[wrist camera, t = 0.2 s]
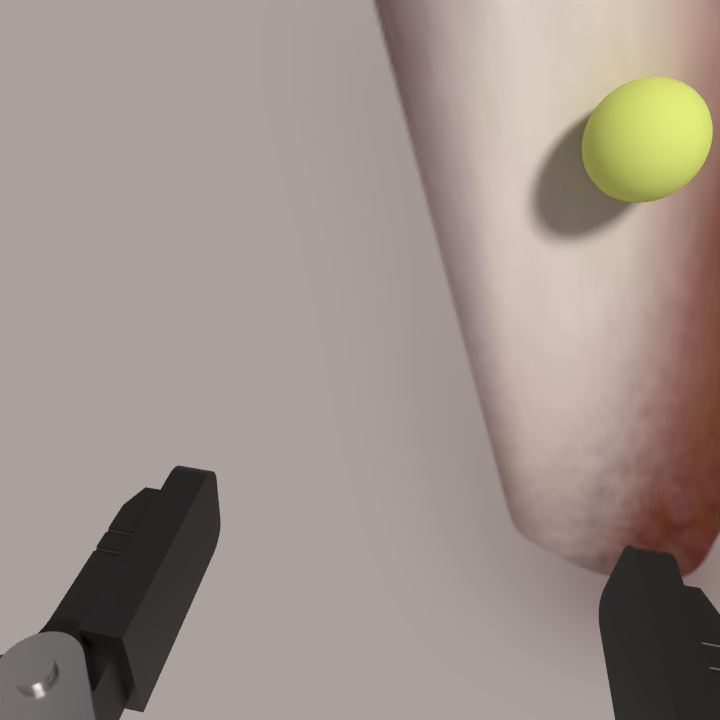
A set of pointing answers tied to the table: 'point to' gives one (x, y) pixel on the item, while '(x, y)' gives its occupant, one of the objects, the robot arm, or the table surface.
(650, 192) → the ball
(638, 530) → the table surface
